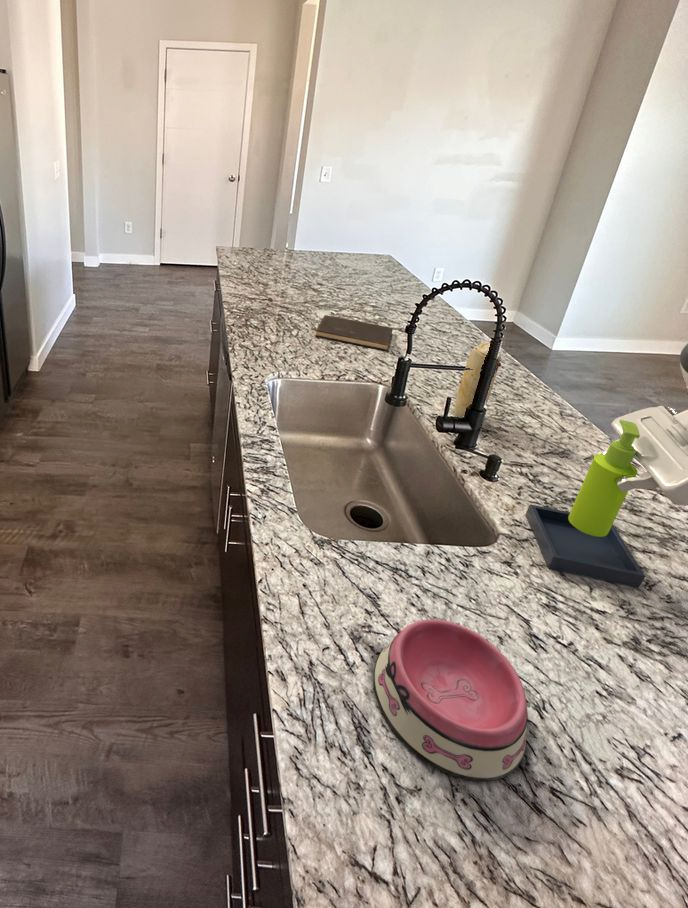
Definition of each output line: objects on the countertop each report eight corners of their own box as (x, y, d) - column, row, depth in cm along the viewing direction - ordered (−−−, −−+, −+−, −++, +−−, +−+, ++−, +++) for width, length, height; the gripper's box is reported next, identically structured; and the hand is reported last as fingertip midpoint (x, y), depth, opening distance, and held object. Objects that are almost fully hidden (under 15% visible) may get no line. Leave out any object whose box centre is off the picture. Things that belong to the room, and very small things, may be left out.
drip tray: (604, 531, 102) (610, 519, 101) (638, 588, 90) (645, 576, 89) (525, 515, 105) (529, 504, 104) (548, 568, 93) (553, 556, 92)
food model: (484, 430, 132) (509, 357, 123) (454, 424, 133) (477, 352, 125) (477, 410, 140) (500, 340, 131) (449, 405, 142) (470, 336, 133)
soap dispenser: (605, 518, 97) (649, 423, 89) (610, 541, 91) (658, 443, 83) (566, 506, 100) (606, 413, 91) (569, 528, 94) (612, 431, 86)
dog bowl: (352, 641, 79) (361, 609, 76) (472, 636, 81) (485, 605, 78) (410, 787, 63) (424, 754, 60) (559, 778, 64) (580, 745, 61)
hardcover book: (387, 351, 170) (388, 344, 169) (314, 336, 179) (315, 330, 178) (391, 333, 184) (393, 327, 183) (324, 320, 192) (325, 314, 191)
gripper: (660, 389, 93) (575, 425, 99) (734, 460, 75) (625, 498, 81) (679, 415, 93) (594, 450, 100) (757, 491, 76) (647, 527, 82)
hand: (608, 472), depth 91 cm, fingers closed on soap dispenser, 6 cm apart
